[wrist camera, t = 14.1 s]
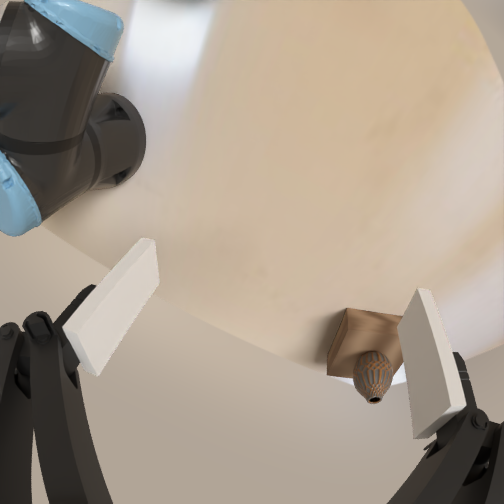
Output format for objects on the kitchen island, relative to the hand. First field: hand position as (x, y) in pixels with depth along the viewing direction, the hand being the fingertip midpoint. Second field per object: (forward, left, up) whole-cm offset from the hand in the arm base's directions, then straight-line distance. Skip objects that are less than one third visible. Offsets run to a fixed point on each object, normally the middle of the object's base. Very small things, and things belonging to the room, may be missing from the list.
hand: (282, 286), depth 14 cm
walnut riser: (+18, -30, -27) cm, 44 cm away
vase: (+18, -30, -22) cm, 41 cm away
